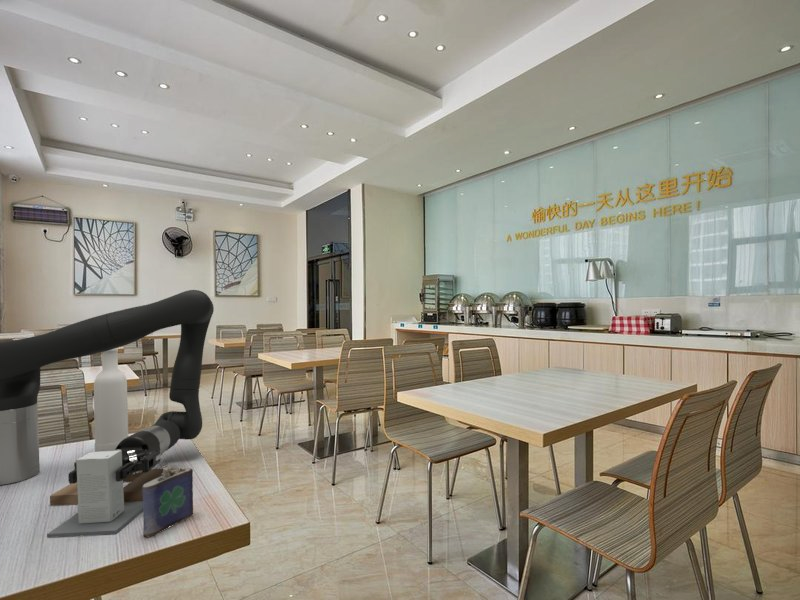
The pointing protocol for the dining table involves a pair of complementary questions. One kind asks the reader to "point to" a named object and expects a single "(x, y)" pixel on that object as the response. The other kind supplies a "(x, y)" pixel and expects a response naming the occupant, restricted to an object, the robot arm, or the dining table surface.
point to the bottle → (110, 404)
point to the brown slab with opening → (130, 491)
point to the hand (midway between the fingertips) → (94, 477)
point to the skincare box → (99, 487)
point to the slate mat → (113, 527)
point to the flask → (167, 500)
